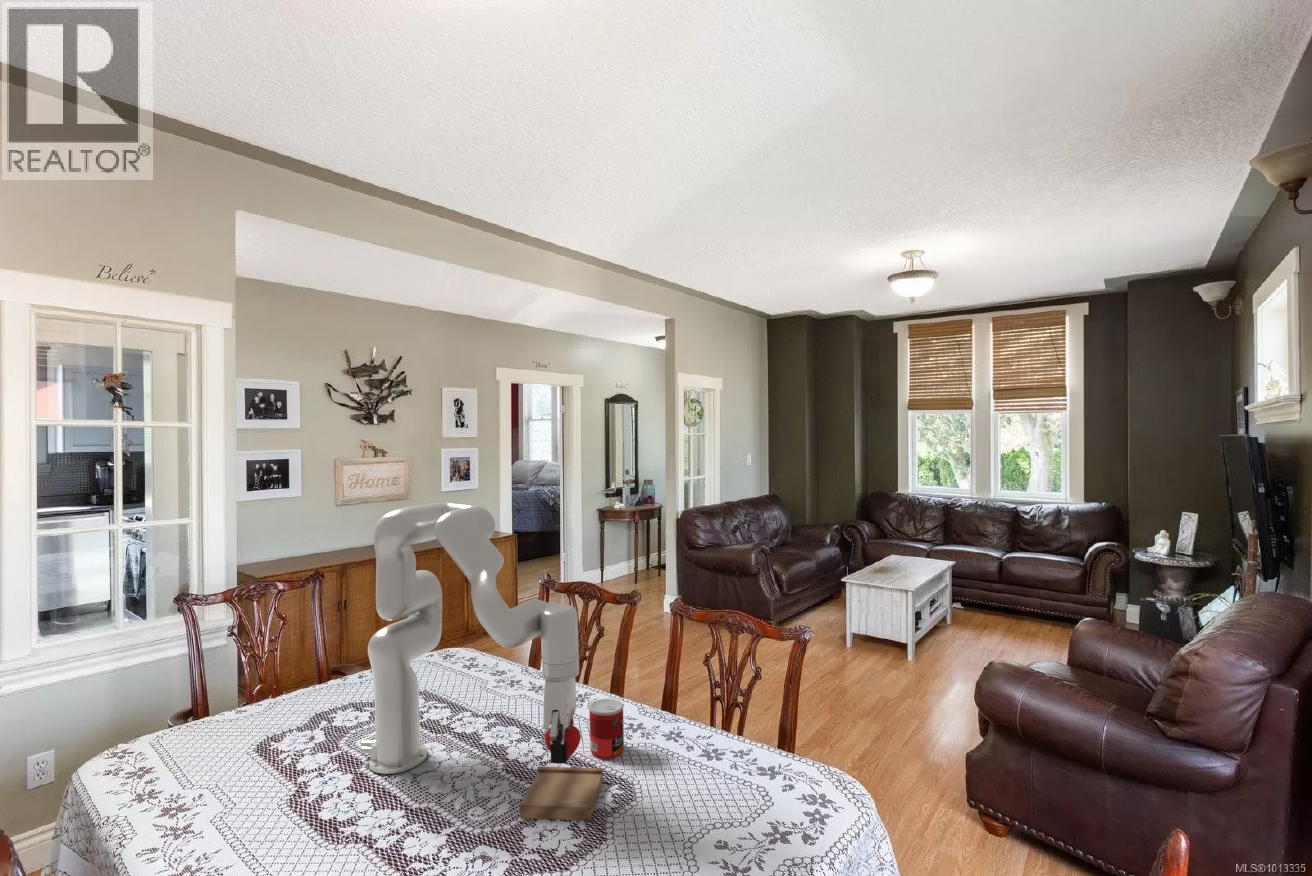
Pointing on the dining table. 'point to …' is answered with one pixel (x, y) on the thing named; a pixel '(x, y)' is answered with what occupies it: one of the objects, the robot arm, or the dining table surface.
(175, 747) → the dining table surface
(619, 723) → the canned food
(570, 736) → the strawberry
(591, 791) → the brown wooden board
